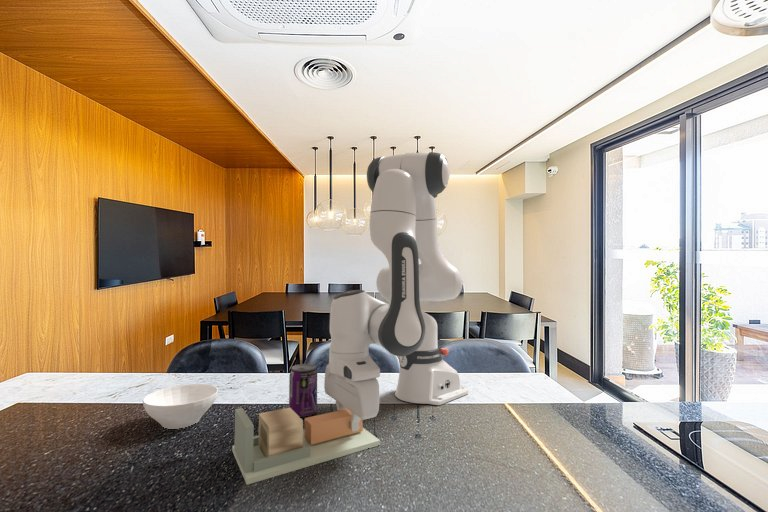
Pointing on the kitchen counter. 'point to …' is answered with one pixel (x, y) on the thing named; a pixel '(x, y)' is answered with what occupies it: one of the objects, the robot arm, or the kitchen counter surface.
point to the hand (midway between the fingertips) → (348, 425)
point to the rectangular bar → (329, 426)
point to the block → (280, 432)
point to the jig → (266, 467)
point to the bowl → (180, 404)
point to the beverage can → (303, 389)
